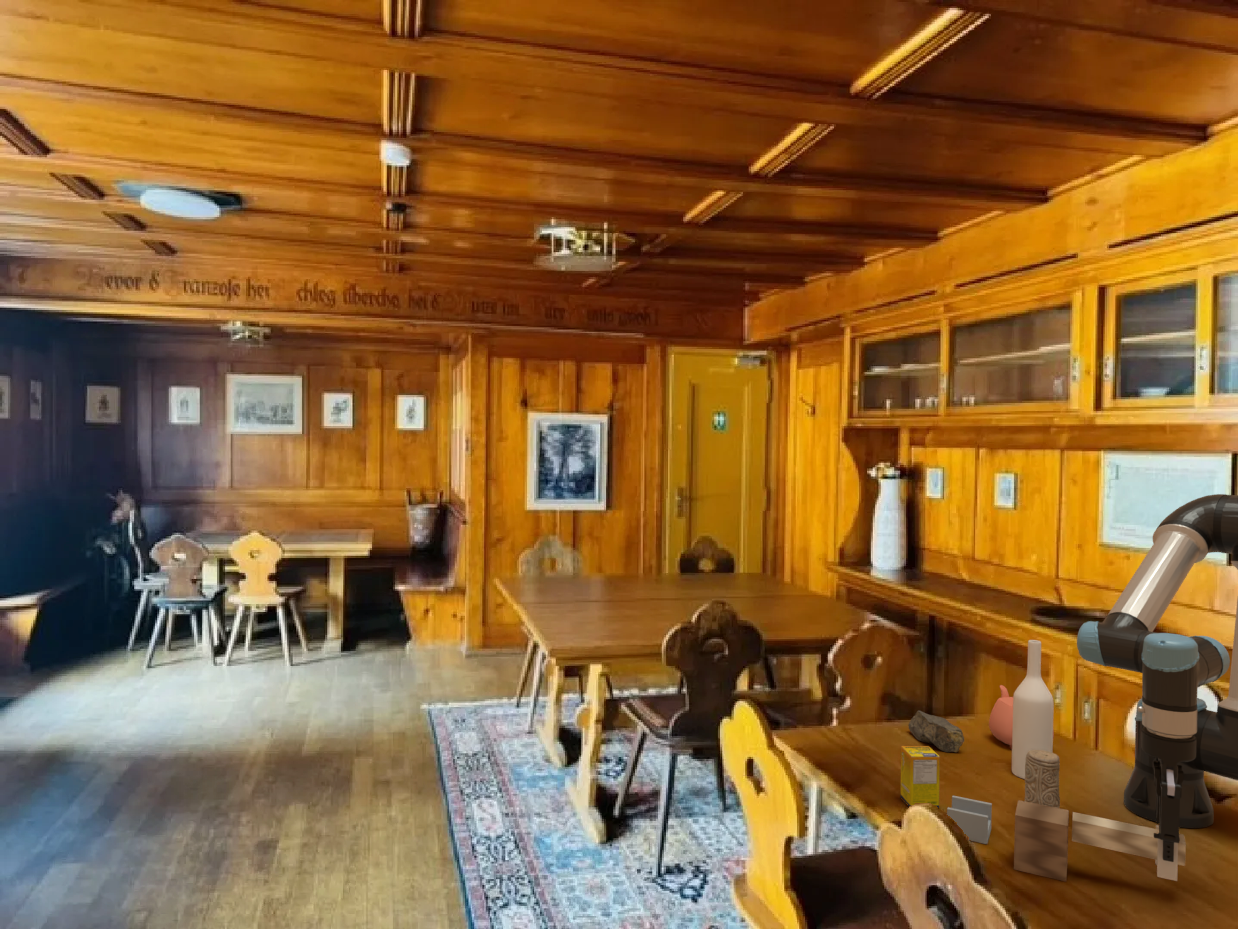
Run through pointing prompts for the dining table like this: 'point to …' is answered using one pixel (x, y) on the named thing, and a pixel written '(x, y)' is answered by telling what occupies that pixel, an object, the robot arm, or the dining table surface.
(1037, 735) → the bottle
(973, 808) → the cradle
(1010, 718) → the teapot
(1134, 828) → the axle bar
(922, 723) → the rock
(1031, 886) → the dining table surface
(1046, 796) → the carving
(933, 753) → the supplement box
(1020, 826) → the block
